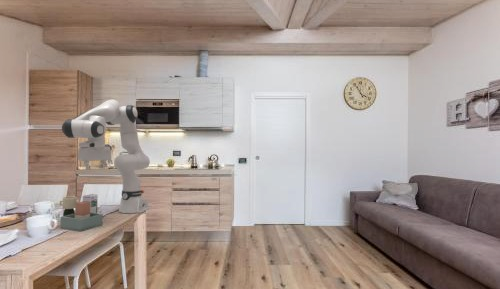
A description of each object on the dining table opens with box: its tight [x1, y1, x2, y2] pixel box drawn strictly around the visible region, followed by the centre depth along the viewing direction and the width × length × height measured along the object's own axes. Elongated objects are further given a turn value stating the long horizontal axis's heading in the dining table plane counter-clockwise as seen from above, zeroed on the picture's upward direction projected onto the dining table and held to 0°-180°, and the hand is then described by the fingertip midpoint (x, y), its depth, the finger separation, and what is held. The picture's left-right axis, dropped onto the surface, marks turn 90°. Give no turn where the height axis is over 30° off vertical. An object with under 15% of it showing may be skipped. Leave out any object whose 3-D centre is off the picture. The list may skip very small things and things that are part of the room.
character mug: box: [59, 196, 81, 216], centre depth 169 cm, size 11×7×13 cm, turn 98°
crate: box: [59, 212, 104, 232], centre depth 156 cm, size 14×14×6 cm
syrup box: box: [81, 193, 99, 213], centre depth 172 cm, size 6×6×14 cm
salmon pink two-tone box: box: [74, 200, 90, 219], centre depth 156 cm, size 5×5×12 cm
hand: (94, 168), depth 163 cm, fingers open, 8 cm apart
